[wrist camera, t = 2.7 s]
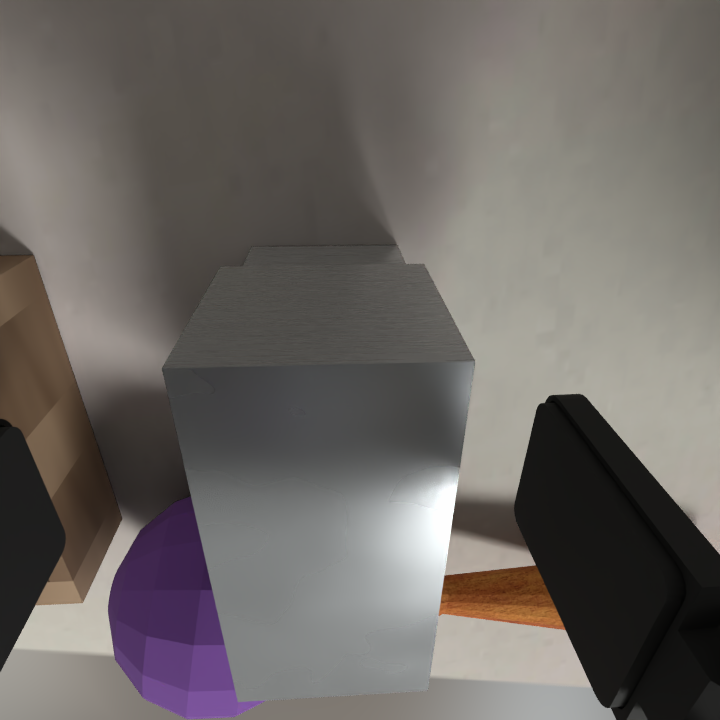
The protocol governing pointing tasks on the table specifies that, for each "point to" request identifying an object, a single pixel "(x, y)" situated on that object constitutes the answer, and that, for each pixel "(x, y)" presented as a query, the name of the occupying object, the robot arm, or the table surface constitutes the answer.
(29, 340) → the wooden frame
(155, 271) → the table surface
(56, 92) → the table surface
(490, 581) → the kendama
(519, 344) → the table surface
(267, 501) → the steel brick
